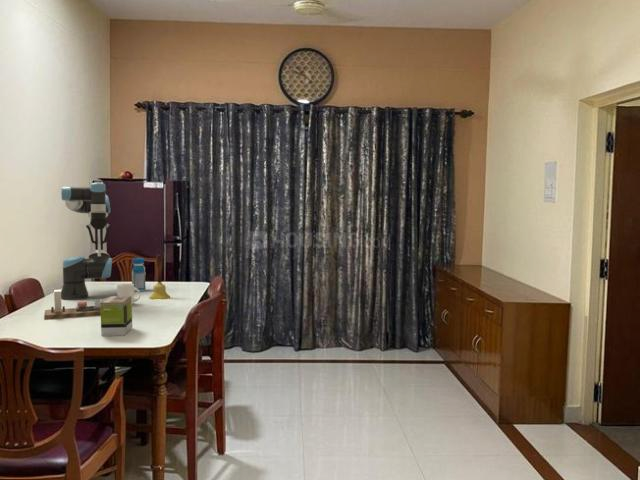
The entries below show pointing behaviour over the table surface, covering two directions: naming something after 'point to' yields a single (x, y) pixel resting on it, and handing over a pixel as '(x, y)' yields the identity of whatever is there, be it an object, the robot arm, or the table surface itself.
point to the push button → (82, 304)
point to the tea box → (116, 315)
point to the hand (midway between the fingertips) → (99, 256)
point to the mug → (127, 291)
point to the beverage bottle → (138, 274)
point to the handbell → (159, 283)
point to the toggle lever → (57, 299)
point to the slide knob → (97, 303)
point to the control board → (72, 312)
